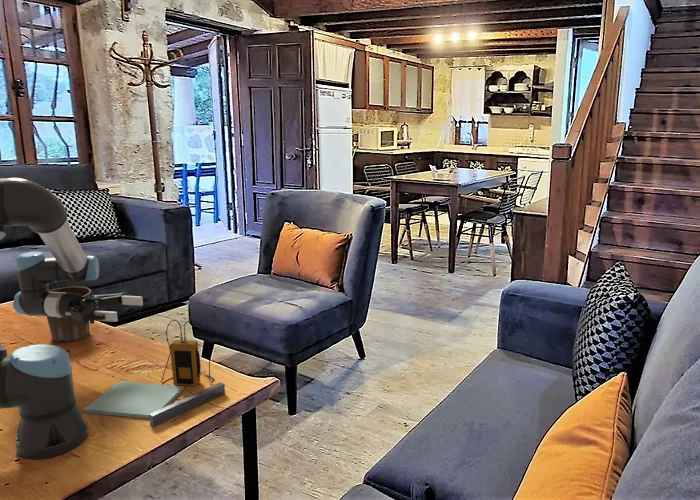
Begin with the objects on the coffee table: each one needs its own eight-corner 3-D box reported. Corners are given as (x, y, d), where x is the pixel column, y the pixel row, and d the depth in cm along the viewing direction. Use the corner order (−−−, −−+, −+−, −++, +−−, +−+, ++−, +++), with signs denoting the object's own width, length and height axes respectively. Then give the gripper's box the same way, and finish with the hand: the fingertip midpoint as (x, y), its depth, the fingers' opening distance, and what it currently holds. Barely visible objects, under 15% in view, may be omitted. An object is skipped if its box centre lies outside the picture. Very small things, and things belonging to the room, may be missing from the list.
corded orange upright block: (221, 371, 166) (216, 309, 162) (209, 387, 157) (204, 321, 152) (174, 370, 168) (169, 308, 163) (160, 385, 158) (154, 320, 153)
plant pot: (105, 333, 197) (100, 291, 194) (61, 348, 184) (55, 303, 181) (80, 324, 206) (75, 283, 203) (36, 338, 193) (30, 295, 190)
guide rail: (153, 427, 136) (152, 416, 136) (150, 424, 137) (149, 414, 137) (225, 393, 153) (224, 384, 152) (221, 392, 154) (220, 382, 153)
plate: (154, 419, 140) (154, 415, 140) (84, 412, 144) (84, 409, 143) (183, 389, 155) (183, 386, 155) (119, 384, 159) (119, 381, 159)
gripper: (92, 303, 178) (152, 306, 174) (37, 332, 154) (106, 336, 151) (89, 281, 176) (150, 284, 173) (33, 307, 152) (103, 311, 149)
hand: (129, 308), depth 162 cm, fingers open, 13 cm apart
